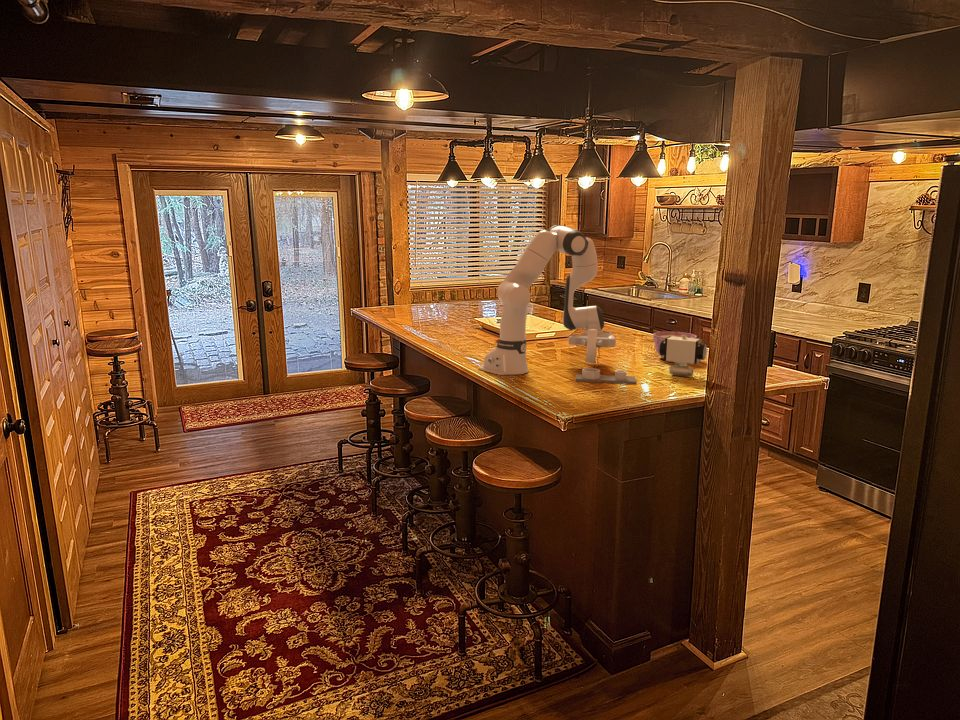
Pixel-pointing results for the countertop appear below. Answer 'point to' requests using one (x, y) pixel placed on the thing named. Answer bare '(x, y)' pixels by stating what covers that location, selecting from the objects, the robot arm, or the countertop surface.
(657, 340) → the clear bowl
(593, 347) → the pvc pipe
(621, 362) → the countertop surface
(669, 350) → the ball valve
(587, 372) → the plate
